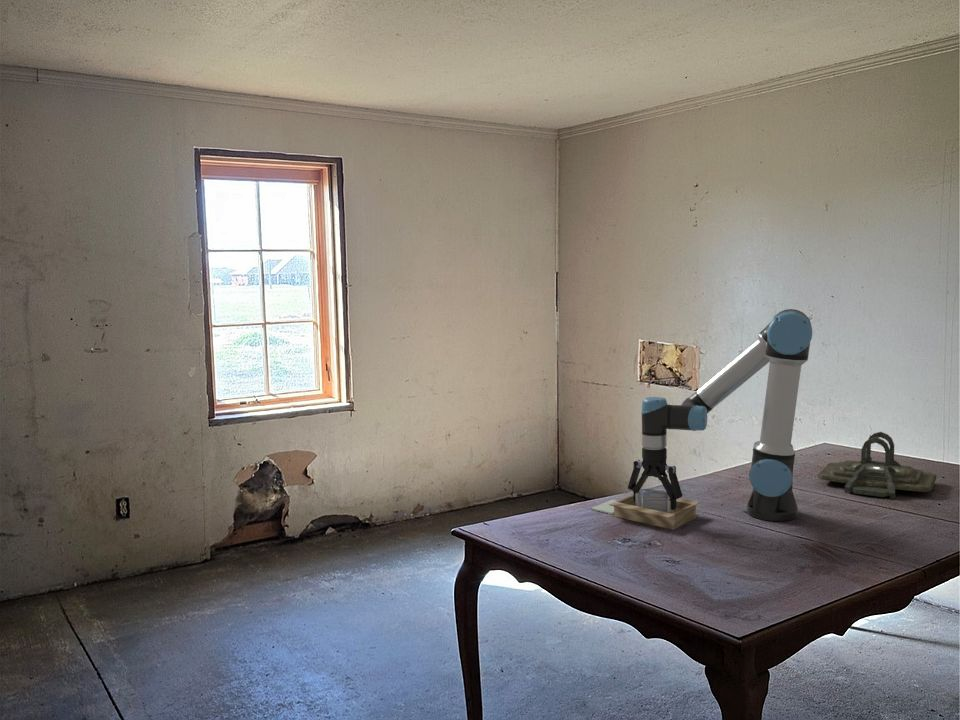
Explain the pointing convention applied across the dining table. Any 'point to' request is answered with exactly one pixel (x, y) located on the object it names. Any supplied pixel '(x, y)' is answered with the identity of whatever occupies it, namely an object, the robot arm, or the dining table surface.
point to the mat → (605, 507)
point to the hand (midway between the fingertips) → (654, 515)
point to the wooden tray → (656, 513)
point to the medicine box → (654, 499)
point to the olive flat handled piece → (877, 472)
